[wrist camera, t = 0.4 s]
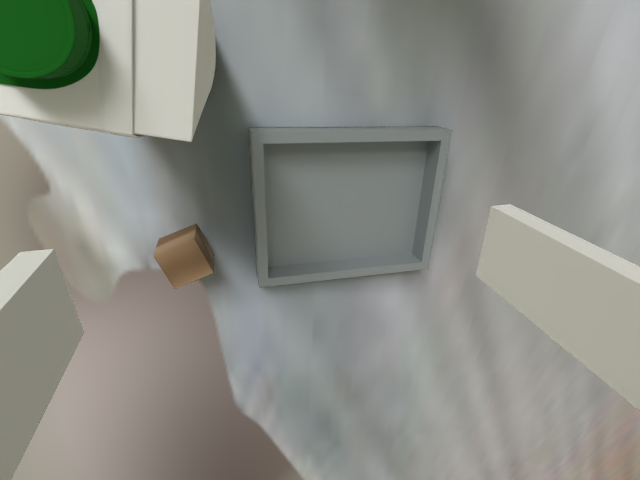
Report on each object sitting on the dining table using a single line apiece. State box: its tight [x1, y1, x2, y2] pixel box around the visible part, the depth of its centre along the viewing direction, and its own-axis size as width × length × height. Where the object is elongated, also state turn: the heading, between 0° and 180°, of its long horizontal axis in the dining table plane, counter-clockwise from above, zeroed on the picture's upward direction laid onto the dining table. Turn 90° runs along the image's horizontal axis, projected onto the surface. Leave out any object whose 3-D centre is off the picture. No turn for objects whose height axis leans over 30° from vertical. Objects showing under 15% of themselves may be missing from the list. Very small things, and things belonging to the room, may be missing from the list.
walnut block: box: [154, 224, 214, 289], centre depth 36 cm, size 4×4×4 cm
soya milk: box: [0, 0, 216, 142], centre depth 22 cm, size 9×9×20 cm
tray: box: [249, 126, 452, 288], centre depth 39 cm, size 16×20×3 cm
